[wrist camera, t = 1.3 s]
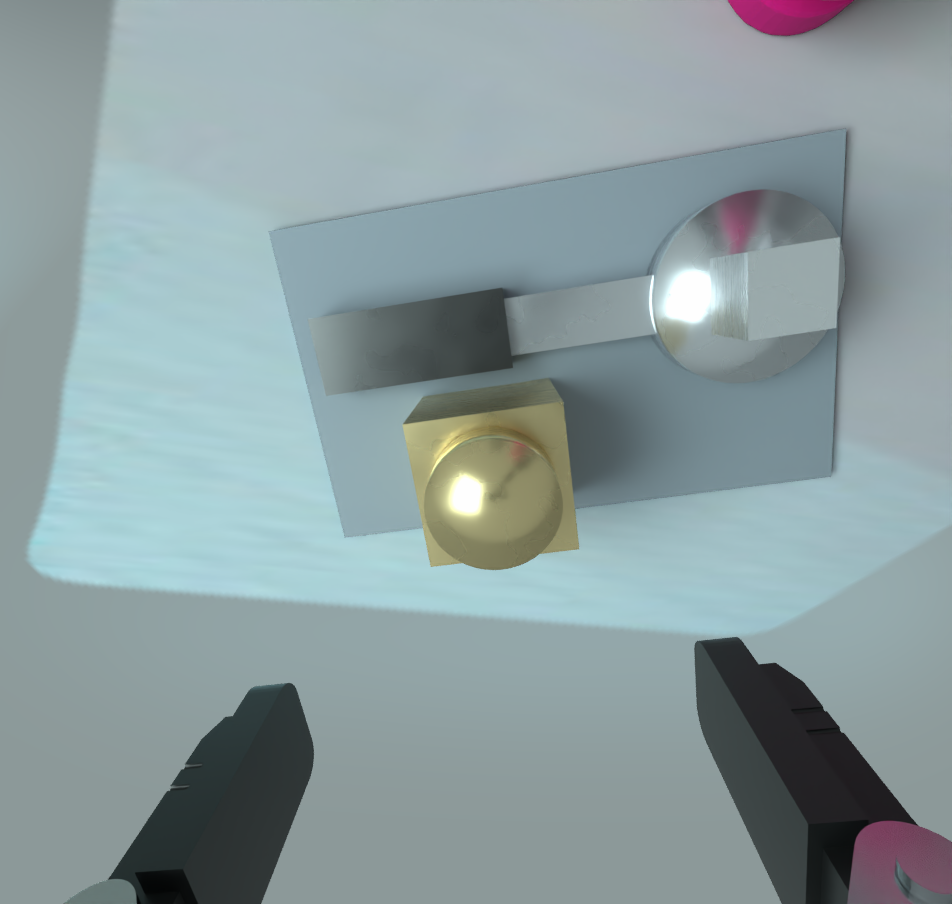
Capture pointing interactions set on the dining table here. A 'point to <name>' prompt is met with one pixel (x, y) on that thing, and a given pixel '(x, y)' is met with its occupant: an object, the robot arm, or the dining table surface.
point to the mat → (579, 367)
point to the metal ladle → (624, 306)
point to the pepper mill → (787, 14)
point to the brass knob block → (492, 474)
